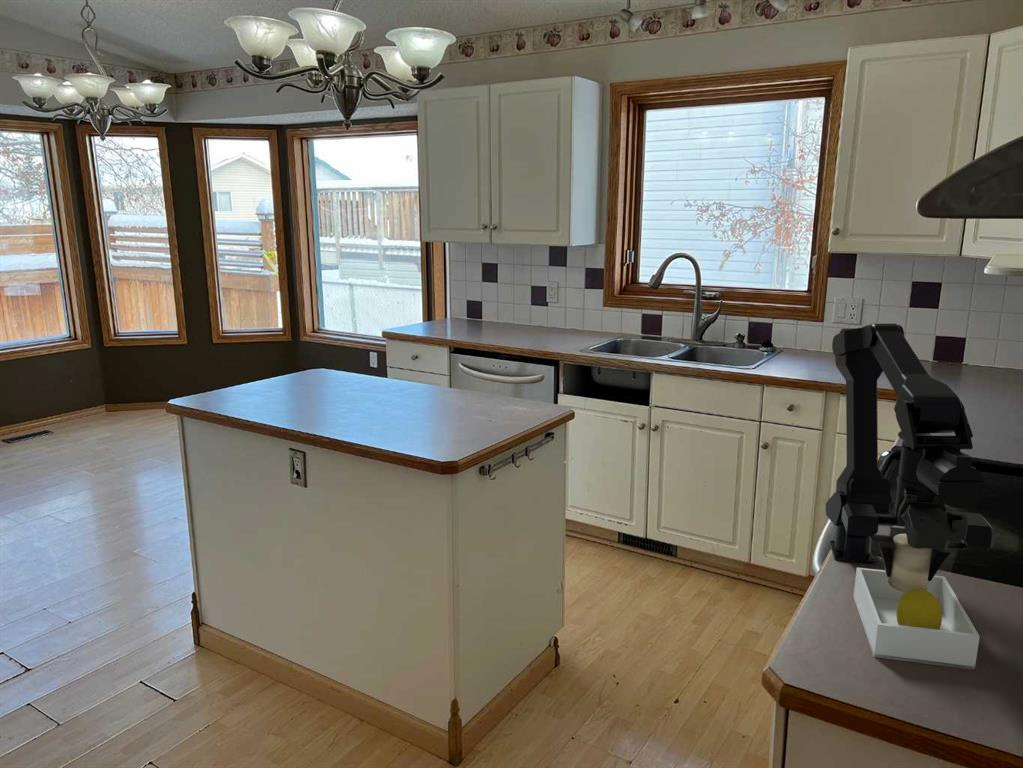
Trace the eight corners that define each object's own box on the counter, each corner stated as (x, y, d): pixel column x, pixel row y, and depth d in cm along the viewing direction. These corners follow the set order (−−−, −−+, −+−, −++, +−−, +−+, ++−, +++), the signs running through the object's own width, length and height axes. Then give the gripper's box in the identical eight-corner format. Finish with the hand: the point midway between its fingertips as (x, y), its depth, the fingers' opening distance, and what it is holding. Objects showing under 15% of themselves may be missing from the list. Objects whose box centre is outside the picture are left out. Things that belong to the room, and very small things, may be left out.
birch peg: (888, 573, 113) (894, 531, 111) (926, 581, 110) (932, 538, 109) (887, 588, 109) (892, 544, 107) (926, 597, 106) (932, 552, 104)
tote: (853, 596, 116) (856, 567, 115) (940, 605, 113) (944, 576, 112) (873, 656, 102) (877, 624, 100) (974, 669, 98) (979, 636, 97)
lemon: (943, 654, 101) (951, 601, 99) (899, 649, 102) (905, 596, 100) (931, 631, 106) (938, 580, 104) (889, 627, 107) (895, 576, 105)
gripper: (859, 494, 100) (848, 598, 104) (1017, 507, 95) (999, 615, 99) (846, 465, 110) (836, 560, 114) (988, 475, 106) (972, 574, 110)
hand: (908, 577), depth 109 cm, fingers closed on birch peg, 5 cm apart
